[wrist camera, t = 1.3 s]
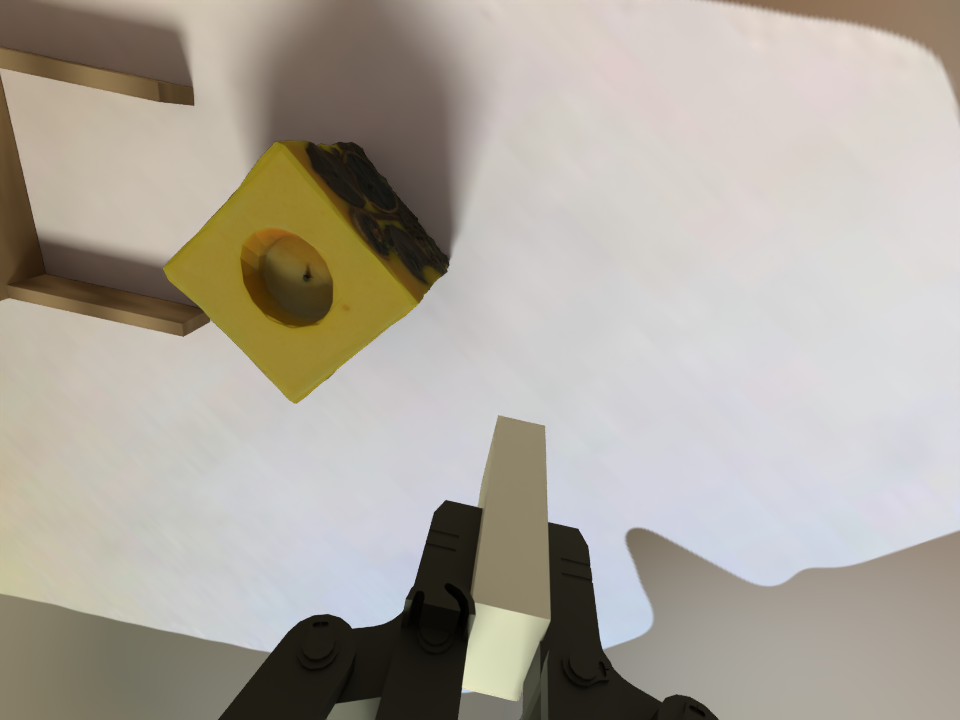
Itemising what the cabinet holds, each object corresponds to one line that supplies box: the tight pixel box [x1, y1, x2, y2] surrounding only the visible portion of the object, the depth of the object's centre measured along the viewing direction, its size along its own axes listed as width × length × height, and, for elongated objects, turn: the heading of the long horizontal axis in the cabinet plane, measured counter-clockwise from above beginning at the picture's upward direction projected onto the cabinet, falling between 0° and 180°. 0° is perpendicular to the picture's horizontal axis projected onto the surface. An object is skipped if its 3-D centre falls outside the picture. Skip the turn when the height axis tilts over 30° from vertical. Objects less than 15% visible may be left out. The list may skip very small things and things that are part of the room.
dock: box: [0, 47, 210, 337], centre depth 30 cm, size 14×16×6 cm
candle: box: [163, 140, 449, 403], centre depth 28 cm, size 10×10×10 cm
